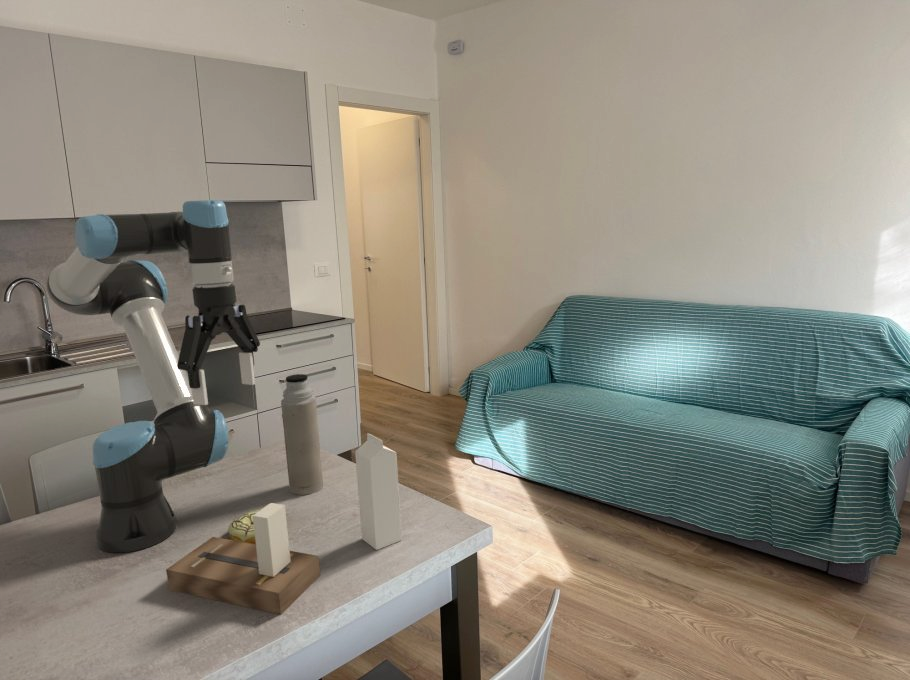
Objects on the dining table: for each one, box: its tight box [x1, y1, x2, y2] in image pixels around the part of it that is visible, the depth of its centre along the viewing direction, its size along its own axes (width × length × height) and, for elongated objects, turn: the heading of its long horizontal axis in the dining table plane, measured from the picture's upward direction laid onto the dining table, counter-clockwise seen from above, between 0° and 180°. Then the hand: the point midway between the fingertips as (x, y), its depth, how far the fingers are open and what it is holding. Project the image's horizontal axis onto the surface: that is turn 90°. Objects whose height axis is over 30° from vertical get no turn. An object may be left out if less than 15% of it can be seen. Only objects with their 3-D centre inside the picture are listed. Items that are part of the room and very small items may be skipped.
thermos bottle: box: [280, 373, 324, 496], centre depth 153 cm, size 8×8×28 cm
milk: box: [354, 432, 403, 551], centre depth 128 cm, size 6×6×22 cm
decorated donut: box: [227, 509, 261, 544], centre depth 134 cm, size 10×11×4 cm
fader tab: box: [253, 502, 291, 577], centre depth 112 cm, size 3×5×11 cm, turn 159°
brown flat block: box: [165, 536, 321, 615], centre depth 116 cm, size 24×12×4 cm, turn 69°
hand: (226, 393), depth 125 cm, fingers open, 13 cm apart
